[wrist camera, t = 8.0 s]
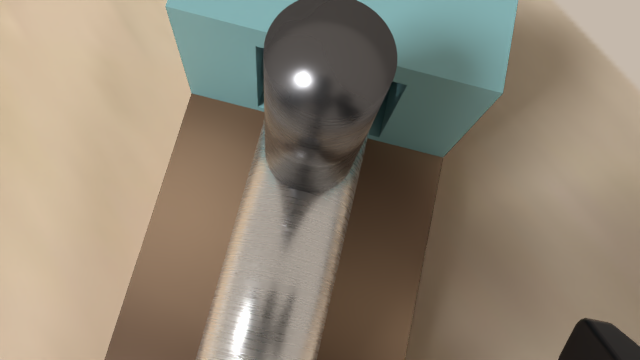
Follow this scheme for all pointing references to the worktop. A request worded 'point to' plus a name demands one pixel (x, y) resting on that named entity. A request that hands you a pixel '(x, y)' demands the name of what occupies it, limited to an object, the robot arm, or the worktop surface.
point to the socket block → (411, 73)
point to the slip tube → (300, 180)
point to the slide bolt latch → (217, 225)
